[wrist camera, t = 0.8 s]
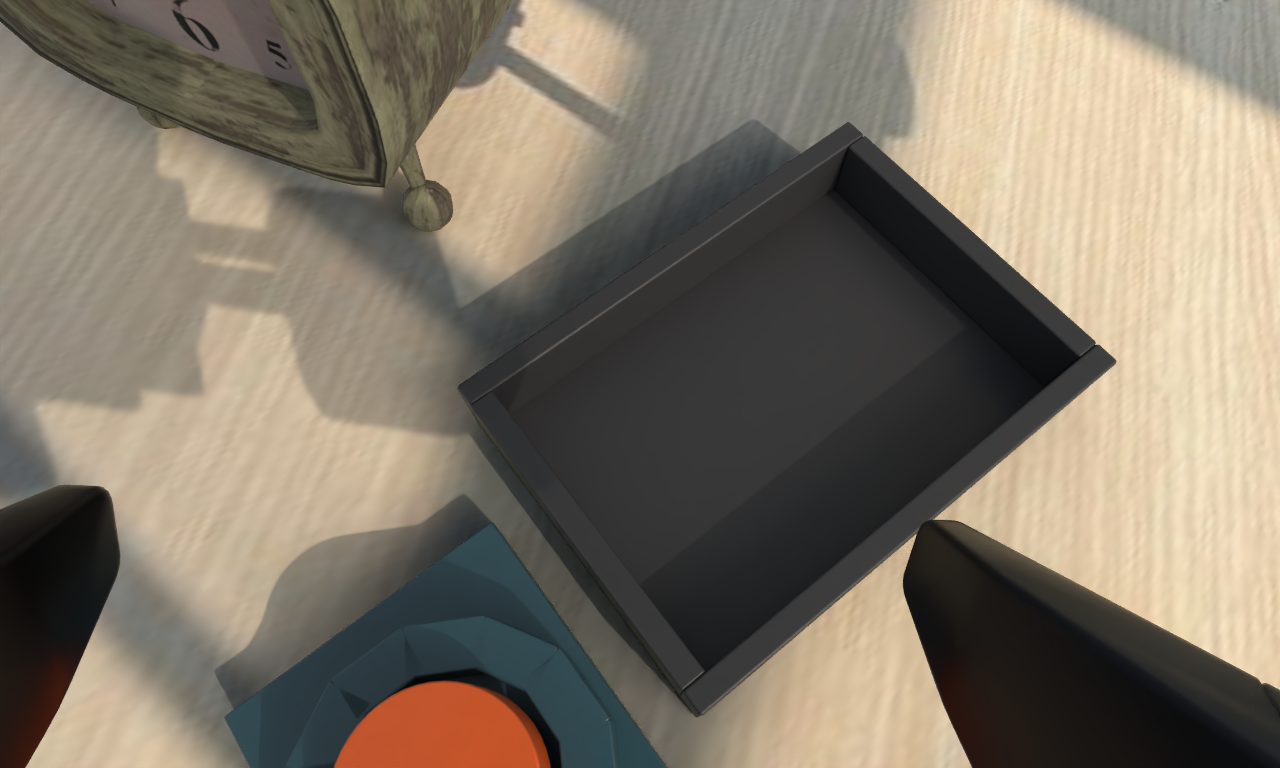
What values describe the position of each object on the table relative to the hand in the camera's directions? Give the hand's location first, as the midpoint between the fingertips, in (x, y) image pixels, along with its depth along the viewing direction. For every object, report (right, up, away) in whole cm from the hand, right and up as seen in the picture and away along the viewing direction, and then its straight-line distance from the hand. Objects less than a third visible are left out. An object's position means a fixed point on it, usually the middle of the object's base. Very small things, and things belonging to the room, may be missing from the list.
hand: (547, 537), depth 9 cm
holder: (+5, +1, +15) cm, 16 cm away
